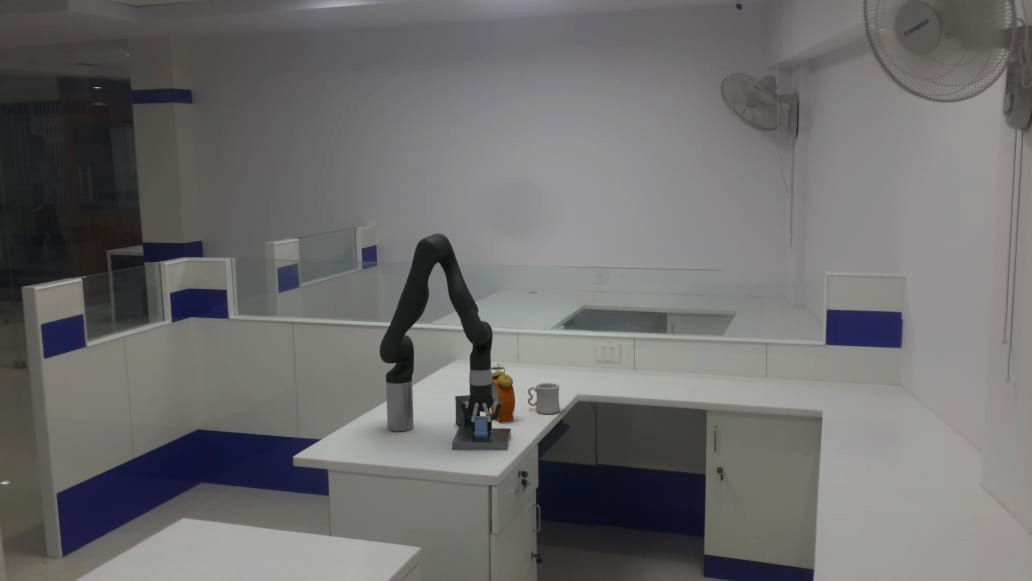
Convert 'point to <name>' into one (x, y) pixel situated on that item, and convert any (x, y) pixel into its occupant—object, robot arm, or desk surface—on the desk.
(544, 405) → the mug
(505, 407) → the alarm clock
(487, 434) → the block
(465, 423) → the small box
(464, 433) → the plate
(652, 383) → the desk surface
